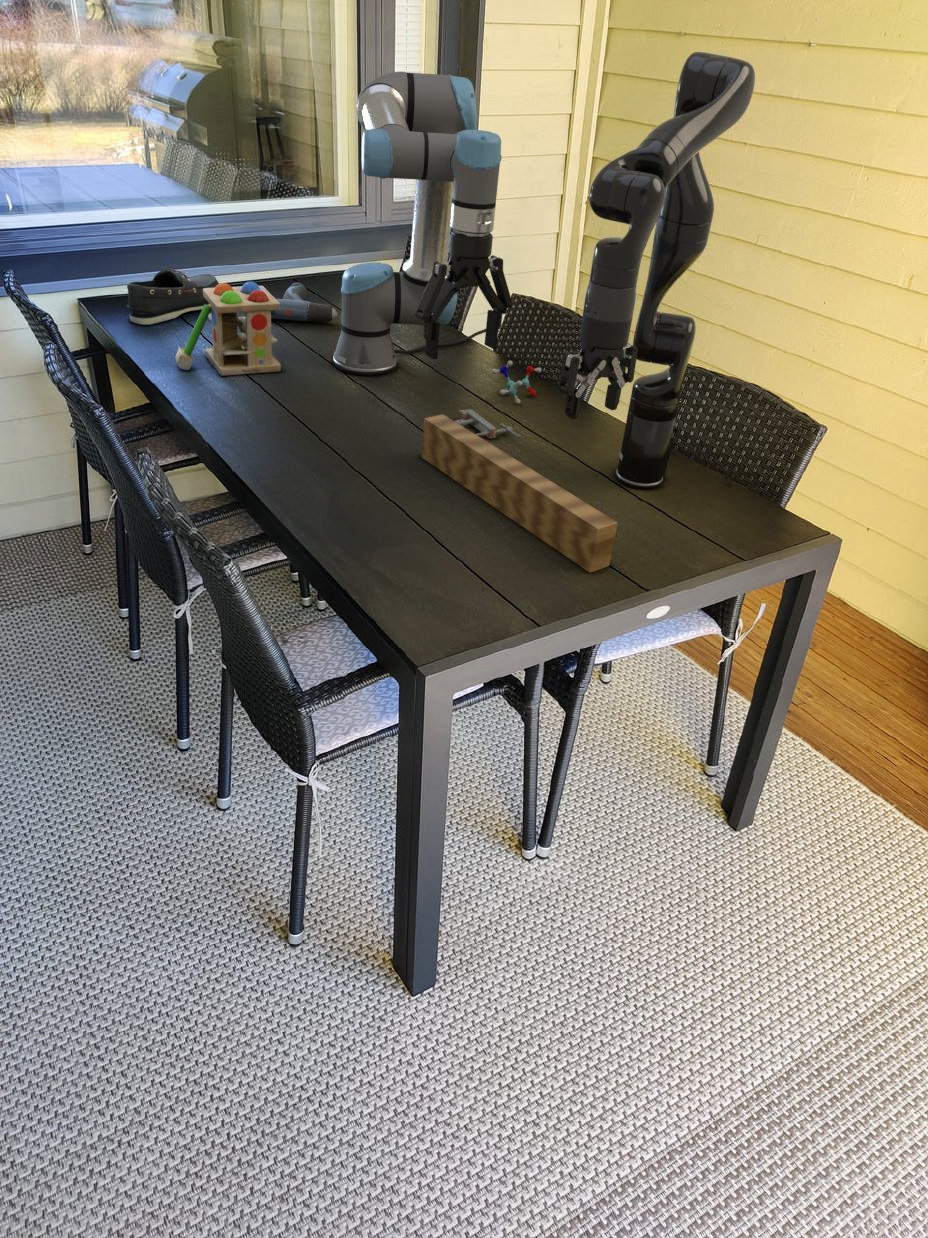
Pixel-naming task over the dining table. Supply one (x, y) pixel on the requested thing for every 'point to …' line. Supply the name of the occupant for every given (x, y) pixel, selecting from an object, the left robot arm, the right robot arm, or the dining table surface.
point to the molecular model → (511, 383)
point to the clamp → (478, 421)
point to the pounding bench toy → (229, 347)
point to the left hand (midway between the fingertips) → (461, 351)
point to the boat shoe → (167, 296)
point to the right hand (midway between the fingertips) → (591, 412)
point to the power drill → (301, 307)
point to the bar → (520, 493)
